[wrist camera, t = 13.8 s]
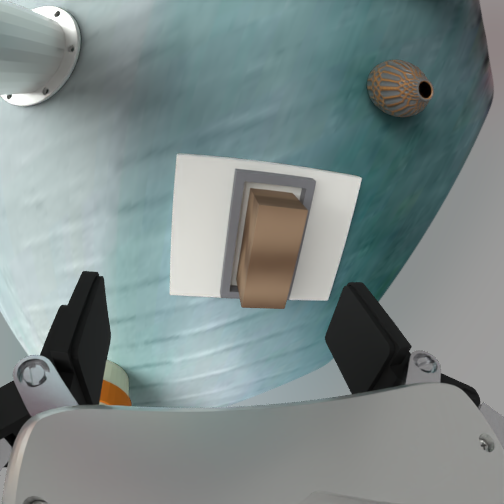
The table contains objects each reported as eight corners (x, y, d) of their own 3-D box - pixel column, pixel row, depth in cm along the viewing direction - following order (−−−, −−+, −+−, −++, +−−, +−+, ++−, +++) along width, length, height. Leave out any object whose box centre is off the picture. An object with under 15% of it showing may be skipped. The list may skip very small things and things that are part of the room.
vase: (407, 112, 34) (451, 120, 27) (363, 116, 34) (403, 124, 26) (400, 61, 31) (444, 59, 23) (354, 62, 31) (394, 56, 23)
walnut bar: (250, 187, 35) (259, 204, 30) (292, 192, 36) (308, 210, 31) (236, 279, 41) (241, 307, 35) (273, 281, 42) (284, 308, 36)
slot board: (170, 290, 41) (169, 301, 39) (177, 153, 33) (175, 156, 31) (325, 296, 45) (331, 306, 43) (358, 176, 38) (367, 181, 35)
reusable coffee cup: (67, 343, 43) (41, 417, 30) (140, 358, 46) (130, 438, 33) (74, 389, 48) (58, 455, 35) (138, 402, 51) (132, 472, 38)
